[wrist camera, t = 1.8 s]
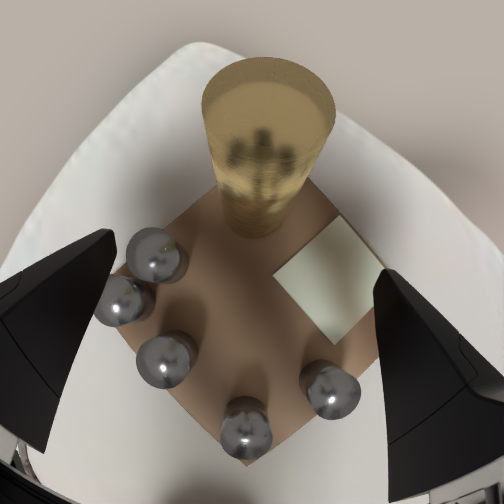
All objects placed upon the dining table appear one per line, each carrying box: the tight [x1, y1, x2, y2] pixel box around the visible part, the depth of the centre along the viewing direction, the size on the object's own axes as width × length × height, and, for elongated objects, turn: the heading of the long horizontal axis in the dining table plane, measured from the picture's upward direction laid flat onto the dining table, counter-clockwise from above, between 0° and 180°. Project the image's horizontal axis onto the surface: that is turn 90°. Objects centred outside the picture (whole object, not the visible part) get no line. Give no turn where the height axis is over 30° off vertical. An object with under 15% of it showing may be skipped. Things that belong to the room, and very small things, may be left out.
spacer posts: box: [93, 228, 361, 460], centre depth 17 cm, size 9×16×4 cm, turn 41°
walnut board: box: [114, 177, 387, 466], centre depth 20 cm, size 18×17×1 cm
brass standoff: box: [201, 57, 336, 239], centre depth 15 cm, size 4×4×12 cm
